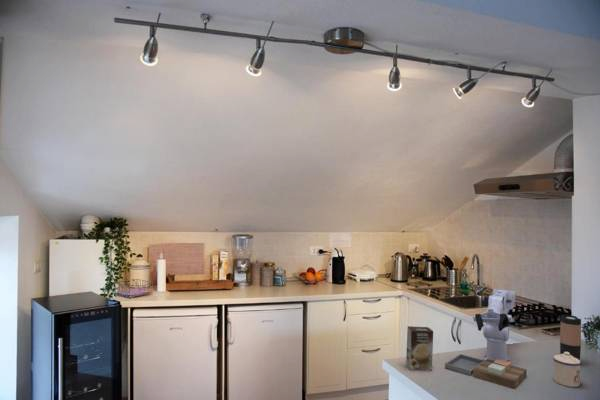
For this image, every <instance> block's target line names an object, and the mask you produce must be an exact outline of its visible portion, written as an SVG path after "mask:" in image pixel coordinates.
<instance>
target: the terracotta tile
mask: <svg viewBox="0 0 600 400" xmlns="http://www.w3.org/2000/svg"><path fill="white" fill-rule="evenodd" d="M494 364H497V365H501V366H504V367H506V371H507V370H508V369H510V368H511V365H512V362H510V361H503V360H499V359H497V360H496V361H495V362H494Z"/></svg>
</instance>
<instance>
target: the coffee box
mask: <svg viewBox="0 0 600 400" xmlns="http://www.w3.org/2000/svg"><path fill="white" fill-rule="evenodd" d="M406 332H407V336H406V357H405V359H406V360H405V364H406V366H407V367H408V369H409V370H411V371H432V370H433V351H434V346H433V345H434V330H432V328H430V327H428V326H407V331H406Z"/></svg>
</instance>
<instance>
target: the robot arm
mask: <svg viewBox="0 0 600 400" xmlns="http://www.w3.org/2000/svg"><path fill="white" fill-rule="evenodd" d="M516 298H517V297H516V291H514V290H507V289H497V288H493V290H492V295H488V303H487V309H486V311H485V312H482V313H475V314H474V315H473V317H472V319H473V322H475V323H476V325H477V326H476V327H477V329H478V331H482V328H483V331H482V332H483V337H484V338H485V340H486V356H485V357H483V359H482V360H483V361H485V360H486V359H490V360H494V361H496V360H497V359H499V360H503V361H507V362H509V360H510V358H509V357H507V355H508V354H507V352H508V348H507V347H508V346H507V342H509V338H510V323H512V321H513V317H512V315H511V314H509V312H510V310H513V309H514V307H515V304H516Z"/></svg>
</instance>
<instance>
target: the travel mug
mask: <svg viewBox="0 0 600 400" xmlns="http://www.w3.org/2000/svg"><path fill="white" fill-rule="evenodd" d="M559 327H560V328H559V329H560V330H559V331H560V332H559V333H560V334H559V335H560V336H559V349H560V350H559V355H560V354H564V352H569V353H570V355H571V356H573V357H574V358H577V359H578V360H580V361H581V348H582V347H581V345H582V318H579V317H577V316H576V315H571V314H561V315H560V326H559Z"/></svg>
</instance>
